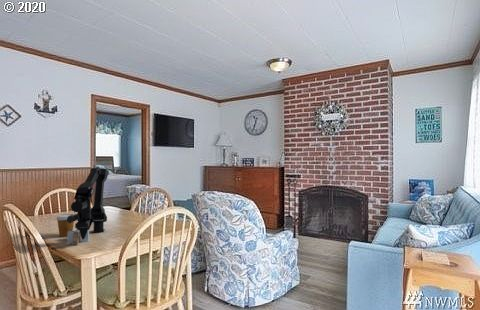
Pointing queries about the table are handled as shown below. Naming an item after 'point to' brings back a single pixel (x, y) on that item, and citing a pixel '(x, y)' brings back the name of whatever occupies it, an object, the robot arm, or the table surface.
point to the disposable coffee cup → (64, 225)
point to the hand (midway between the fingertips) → (84, 236)
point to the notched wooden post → (76, 238)
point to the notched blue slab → (70, 235)
